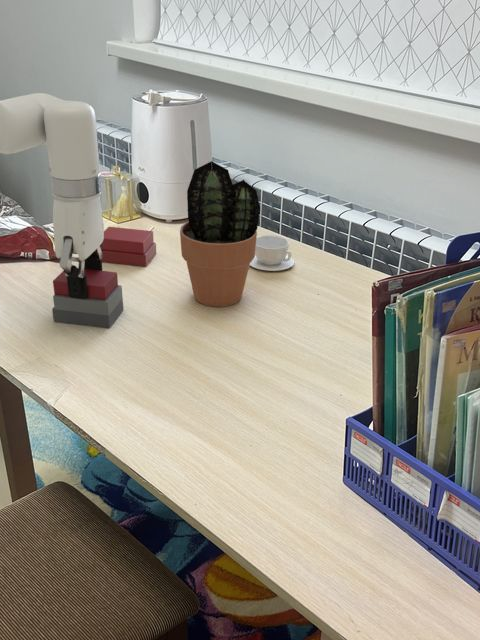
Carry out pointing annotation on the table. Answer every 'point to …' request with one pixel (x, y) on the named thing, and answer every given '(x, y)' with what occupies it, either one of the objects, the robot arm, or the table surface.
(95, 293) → the burgundy book
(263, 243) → the teacup
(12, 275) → the table surface
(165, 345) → the table surface
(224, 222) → the potted plant
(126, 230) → the burgundy book stack
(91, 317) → the grey book stack
